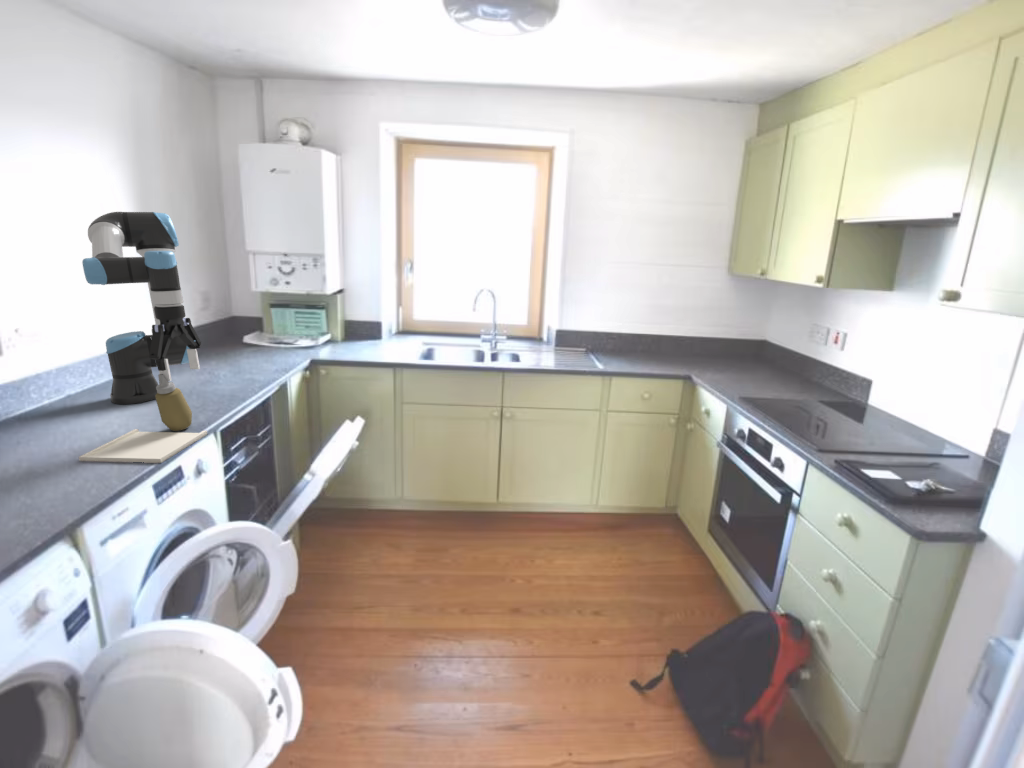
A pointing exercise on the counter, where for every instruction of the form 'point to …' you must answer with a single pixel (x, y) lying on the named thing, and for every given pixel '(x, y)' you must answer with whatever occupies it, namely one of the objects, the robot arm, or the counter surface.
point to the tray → (143, 447)
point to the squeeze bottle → (172, 405)
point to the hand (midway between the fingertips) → (181, 374)
